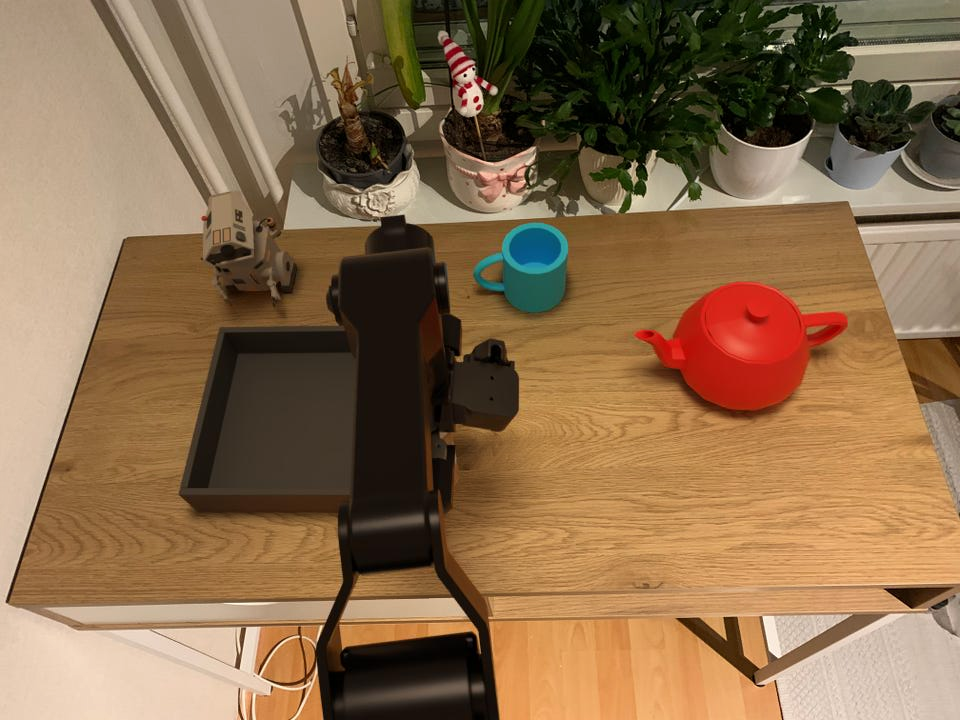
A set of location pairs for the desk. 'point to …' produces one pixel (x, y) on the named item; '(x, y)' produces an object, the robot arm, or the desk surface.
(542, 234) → the mug
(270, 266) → the figurine
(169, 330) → the desk surface
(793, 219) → the desk surface
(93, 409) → the desk surface
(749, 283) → the teapot
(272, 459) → the dark grey tray
